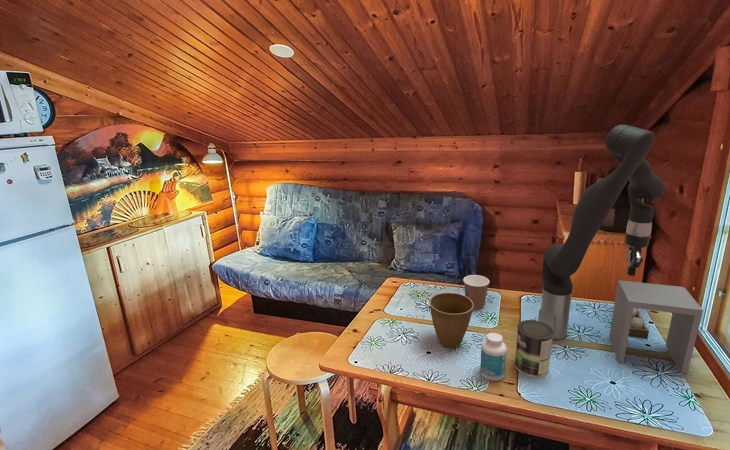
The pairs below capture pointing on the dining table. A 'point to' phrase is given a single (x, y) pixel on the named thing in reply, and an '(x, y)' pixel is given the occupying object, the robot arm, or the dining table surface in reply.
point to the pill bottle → (493, 357)
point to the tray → (639, 331)
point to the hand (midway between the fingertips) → (630, 274)
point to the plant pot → (450, 317)
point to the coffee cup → (476, 290)
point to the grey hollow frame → (659, 300)
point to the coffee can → (533, 348)
